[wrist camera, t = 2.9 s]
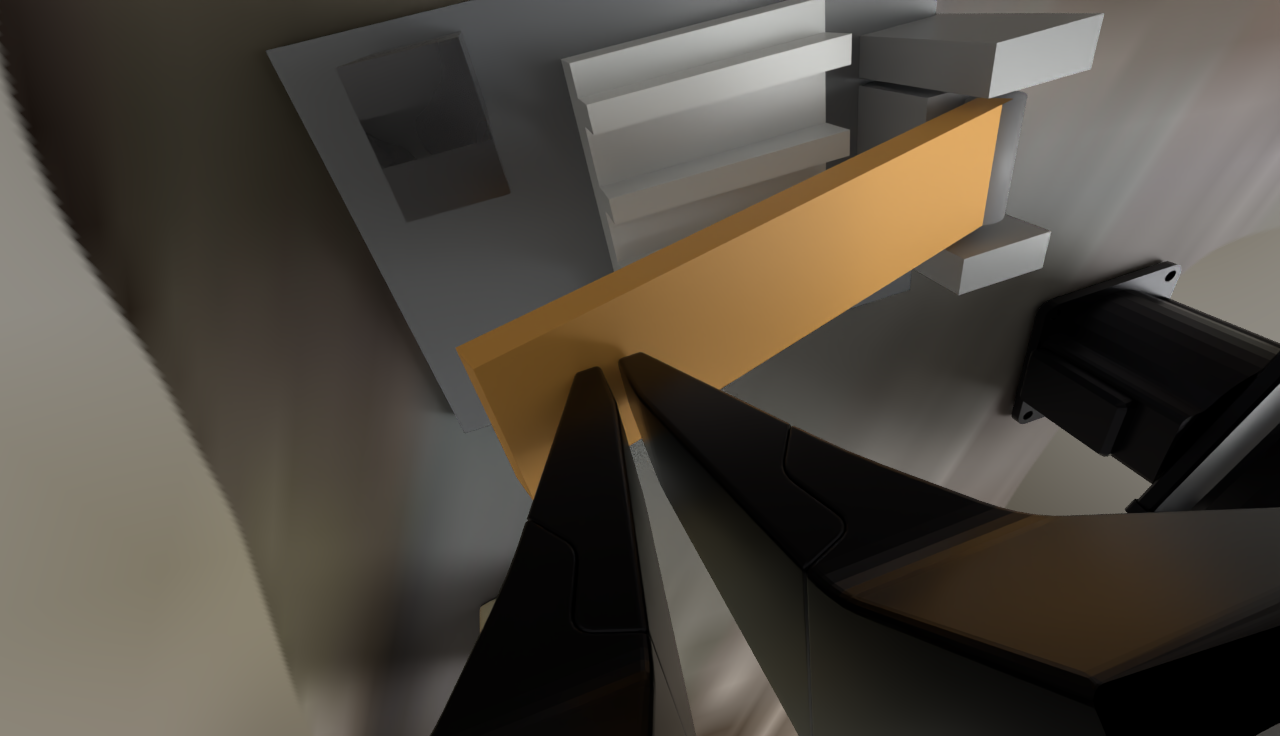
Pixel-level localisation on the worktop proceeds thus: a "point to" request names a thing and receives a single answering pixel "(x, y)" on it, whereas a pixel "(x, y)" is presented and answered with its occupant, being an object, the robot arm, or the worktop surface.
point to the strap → (751, 276)
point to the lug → (427, 125)
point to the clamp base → (660, 136)
